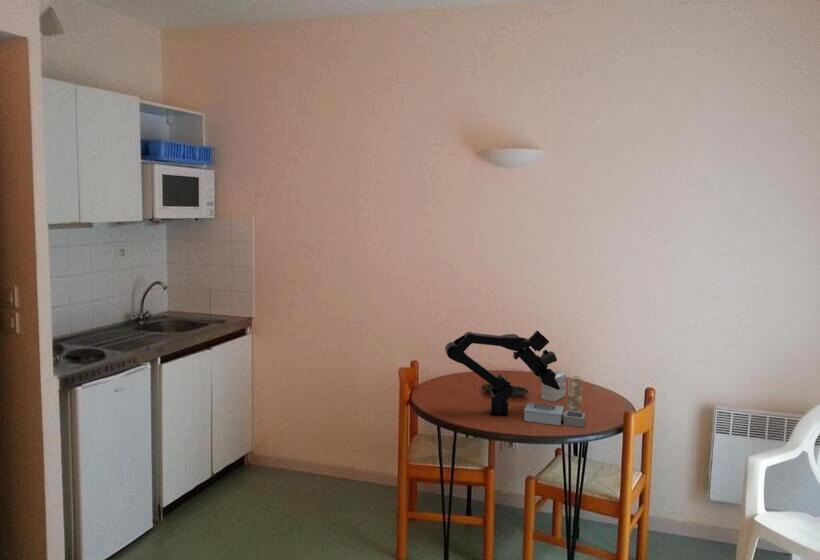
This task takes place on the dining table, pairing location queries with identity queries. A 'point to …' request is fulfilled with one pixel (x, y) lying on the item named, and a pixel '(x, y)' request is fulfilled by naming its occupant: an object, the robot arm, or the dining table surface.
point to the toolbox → (552, 415)
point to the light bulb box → (552, 393)
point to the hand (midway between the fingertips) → (556, 385)
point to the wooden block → (574, 393)
